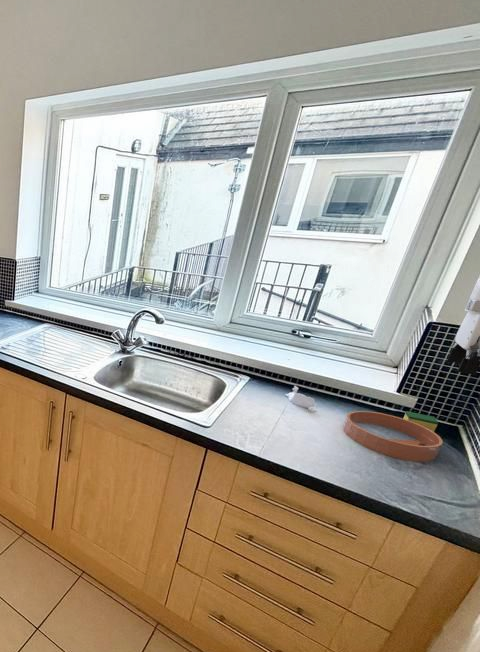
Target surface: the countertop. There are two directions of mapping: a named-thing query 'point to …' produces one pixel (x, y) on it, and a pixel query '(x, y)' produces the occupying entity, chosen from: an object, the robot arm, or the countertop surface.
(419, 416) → the sponge
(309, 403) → the wrapped candy
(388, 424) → the terracotta oval ring
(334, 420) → the countertop surface
